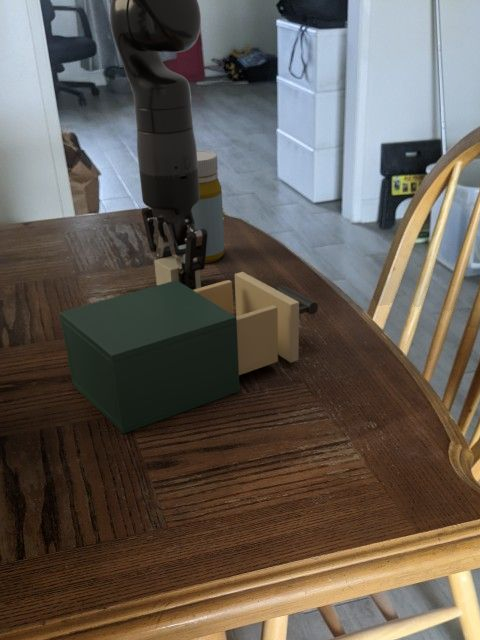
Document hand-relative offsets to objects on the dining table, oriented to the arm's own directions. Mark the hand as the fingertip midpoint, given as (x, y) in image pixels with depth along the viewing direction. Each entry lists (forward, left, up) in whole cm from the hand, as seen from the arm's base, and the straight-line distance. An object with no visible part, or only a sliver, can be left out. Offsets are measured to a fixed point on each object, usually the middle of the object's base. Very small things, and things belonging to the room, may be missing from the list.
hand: (179, 290), depth 110 cm
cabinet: (-16, -22, 0) cm, 27 cm away
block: (0, 0, 0) cm, 0 cm away
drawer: (-4, -22, +1) cm, 22 cm away
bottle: (+10, +10, -1) cm, 14 cm away
